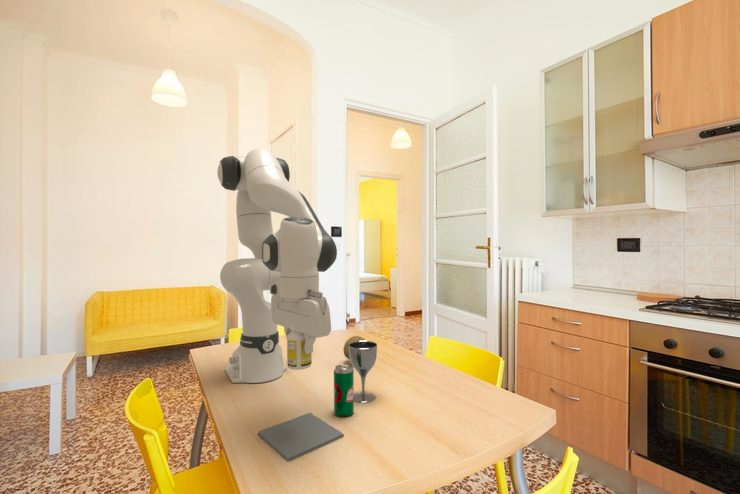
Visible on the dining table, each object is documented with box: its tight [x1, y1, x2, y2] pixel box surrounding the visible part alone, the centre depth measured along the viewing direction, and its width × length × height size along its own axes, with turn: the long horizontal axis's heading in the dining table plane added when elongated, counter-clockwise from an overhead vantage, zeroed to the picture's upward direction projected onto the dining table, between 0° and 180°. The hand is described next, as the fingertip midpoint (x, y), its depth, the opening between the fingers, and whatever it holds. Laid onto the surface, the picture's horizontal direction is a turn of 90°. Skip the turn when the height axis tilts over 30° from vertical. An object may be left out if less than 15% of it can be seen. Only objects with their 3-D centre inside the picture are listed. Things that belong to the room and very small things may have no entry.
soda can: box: [333, 363, 355, 418], centre depth 93 cm, size 5×5×12 cm
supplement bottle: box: [286, 324, 313, 371], centre depth 82 cm, size 5×5×10 cm
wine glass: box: [349, 340, 378, 404], centre depth 103 cm, size 8×8×15 cm
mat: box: [257, 412, 345, 462], centre depth 83 cm, size 14×14×1 cm
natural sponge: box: [343, 335, 367, 361], centre depth 132 cm, size 9×9×10 cm
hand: (299, 349), depth 82 cm, fingers closed on supplement bottle, 5 cm apart
